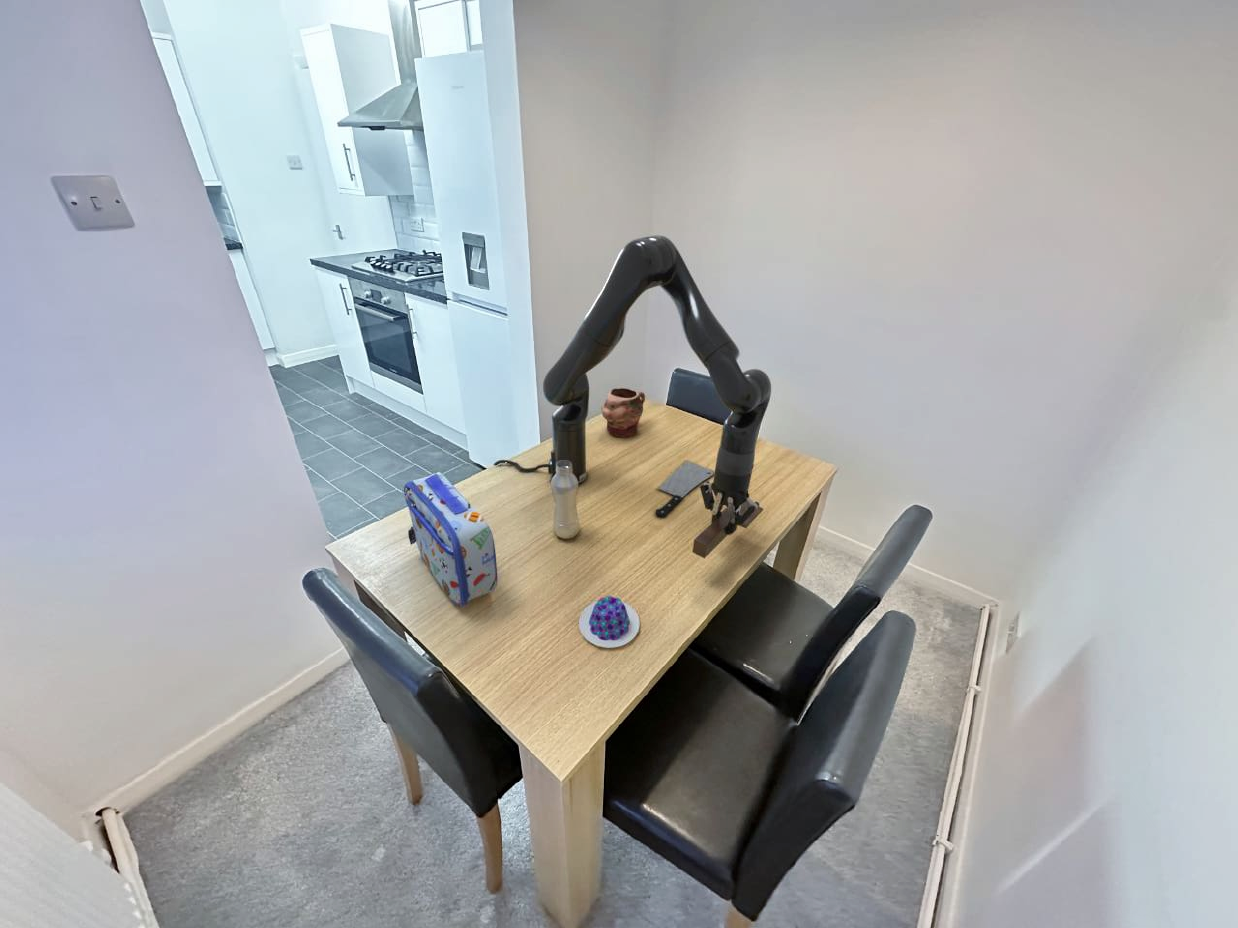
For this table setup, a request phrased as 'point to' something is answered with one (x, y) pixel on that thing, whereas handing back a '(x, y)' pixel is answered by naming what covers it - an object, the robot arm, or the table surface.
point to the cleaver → (682, 484)
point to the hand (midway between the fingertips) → (723, 529)
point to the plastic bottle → (565, 500)
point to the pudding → (609, 622)
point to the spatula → (719, 531)
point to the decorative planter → (623, 411)
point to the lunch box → (451, 538)
